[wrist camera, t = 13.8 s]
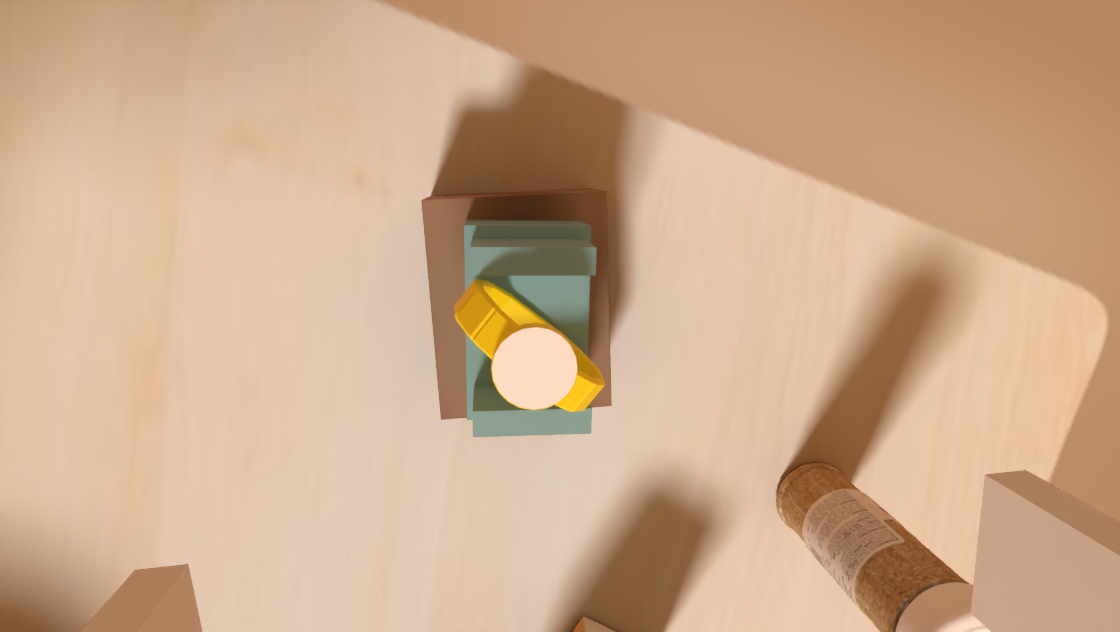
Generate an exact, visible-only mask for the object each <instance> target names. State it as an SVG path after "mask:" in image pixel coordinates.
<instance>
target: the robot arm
mask: <svg viewBox="0 0 1120 632" xmlns="http://www.w3.org/2000/svg"><path fill="white" fill-rule="evenodd" d="M971 614H972V615H973V616H974V617H976V618H977V619H978V620H979V621H980V622H981V623H982V624H983V625H984V626H986V627H987V628H988V629H989V630H990V631H991V632H1120V522H1119V521H1117V520H1116V519H1114V518H1112V517H1110V516H1108V515H1106V514H1104V513H1103V512H1101V511H1099V510H1097V509H1096V508H1094V507H1092V506H1090V505H1088V504H1086V503H1085V502H1082V501H1081V500H1079V499H1077V498H1075V497H1074V496H1072V495H1070V494H1068V493H1066V492H1065V491H1063V490H1060V489H1059V488H1057V487H1055V486H1054V485H1052V484H1050V483H1048V482H1046V481H1044V480H1043V479H1041V478H1039V477H1037V476H1035V475H1034V474H1032V473H1030V472H1028V471H1026V470H1023V471H1014V472H1005V473H996V474H987V475H985V480H984V490H983V499H982V509H981V518H980V528H979V537H978V547H977V556H976V566H975V575H974V585H973V594H972V604H971ZM81 632H202V628H201V623H200V618H199V613H198V609H197V604H196V599H195V594H194V590H193V585H192V580H191V575H190V571H189V566H188V564H185V565H176V566H167V567H158V568H149V569H141V570H135V571H134V572H133V573H132V574H131V575H130V576H129V577H128V579H127V580H126V581H125V582H124V583H123V584H122V585H121V587H120V588H119V589H118V590H117V591H116V592H115V593H114V595H113V596H112V597H111V598H110V599H109V600H108V601H107V602H106V604H105V605H104V606H103V607H102V608H101V609H100V610H99V612H98V613H97V614H96V615H95V616H94V617H93V618H92V620H91V621H90V622H89V623H88V624H87V625H86V626H85V628H84V629H83V630H82V631H81Z"/></svg>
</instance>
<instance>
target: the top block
mask: <svg viewBox="0 0 1120 632" xmlns="http://www.w3.org/2000/svg"><path fill="white" fill-rule="evenodd" d="M596 249H597V247H595V246H594V245H592V244H591V226H590V225H588V224H586V223H584V222H582V221H543V220H466V221H465V224H464V255H465V291H466V290H467V289H468V287H469V286H470V285H471V283H472V282H473V281H474V280H475V279H482V280H486V281H489V282H492V283H493V284H495V285H497V286H499V287H500V288H502V289H504V290H506V291H507V292H509V293H511V294H513V295H514V297H515V298H516V299H518V300H519V301H520V302H522V303H523V304H524V305H526V306H527V307H528V308H530V309H531V310H532V311H534V312H535V313H536V314H537V315H539V316H540V317H541V318H543V319H544V320H545V321H547V322H548V323H549V324H551V325H552V326H553V327H555V328H556V329H557V330H559V331H561V332H562V333H563V334H564V335H565V336H566V337H567V338H568V339H569V340H571V341H572V342H573V343H574V344H575V345H576V346H577V347H578V348H579V349H580V350H581V351H582V352H584V354H585V355H586V356H587V357H588V333H589V297H590V276H596ZM491 362H492V359H490V358H489V357H488V356H487V355H486V354H485V353H484V352H483V351H482V350H481V349H480V348H479V347H478V346H477V345H476V344H475V343H474V342H473V340H471V339H470V338H469V337H468V335H467V334H466V382H467V420H468V419H473V437H492V436H525V435H557V434H590V433H591V420H592V408H591V405H590V404H589V405H588V406H587V407H586V409H585V410H584V411H576V412H570V411H567V410H564V409H562V408H560V407H558V406H556V405H553V406H551V407H548V408H546V409H538V410H529V409H523V408H519V407H517V406H515V405H513V404H511V403H509V402H508V401H507V400H506V399H505V398H504V397H503V396H502V395H501V394H500V393H499V392H498V390H497V388H496V386H495V384H494V382H493V379H492V372H491Z"/></svg>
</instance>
